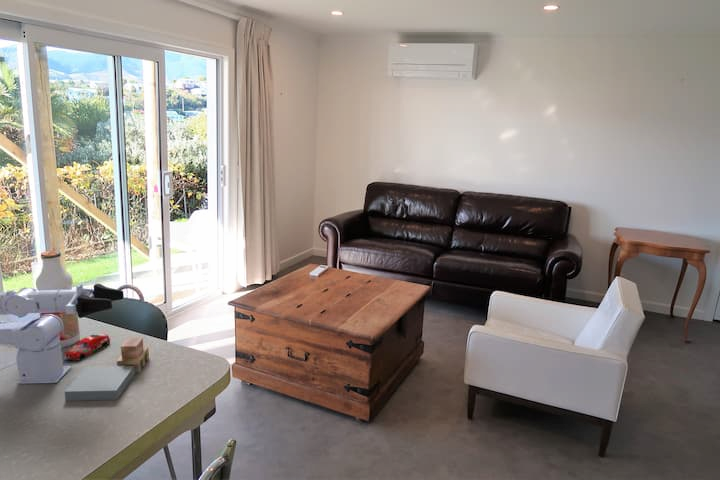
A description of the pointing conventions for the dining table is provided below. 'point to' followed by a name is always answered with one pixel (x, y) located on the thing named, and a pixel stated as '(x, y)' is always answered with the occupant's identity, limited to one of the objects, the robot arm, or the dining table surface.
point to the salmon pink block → (132, 348)
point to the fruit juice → (58, 279)
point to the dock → (100, 383)
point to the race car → (87, 346)
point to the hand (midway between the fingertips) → (117, 299)
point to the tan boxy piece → (135, 360)
